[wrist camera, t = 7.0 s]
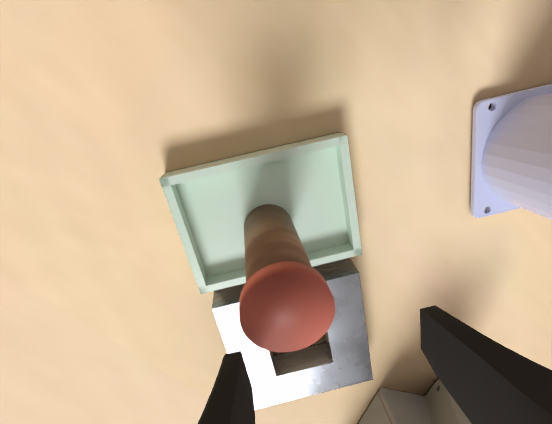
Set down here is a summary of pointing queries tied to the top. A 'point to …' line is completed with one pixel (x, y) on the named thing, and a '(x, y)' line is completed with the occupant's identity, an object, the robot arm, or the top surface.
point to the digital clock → (414, 408)
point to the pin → (281, 285)
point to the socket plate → (311, 360)
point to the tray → (259, 191)
